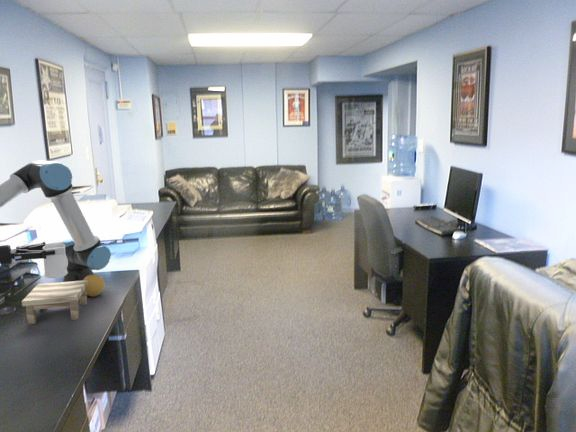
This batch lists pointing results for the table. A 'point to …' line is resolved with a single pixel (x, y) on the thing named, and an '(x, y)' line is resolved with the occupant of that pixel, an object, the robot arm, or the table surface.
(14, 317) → the table surface
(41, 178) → the robot arm
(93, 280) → the stress ball
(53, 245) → the mug
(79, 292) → the footstool
